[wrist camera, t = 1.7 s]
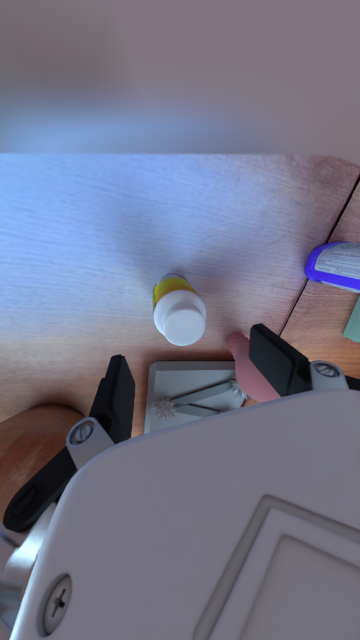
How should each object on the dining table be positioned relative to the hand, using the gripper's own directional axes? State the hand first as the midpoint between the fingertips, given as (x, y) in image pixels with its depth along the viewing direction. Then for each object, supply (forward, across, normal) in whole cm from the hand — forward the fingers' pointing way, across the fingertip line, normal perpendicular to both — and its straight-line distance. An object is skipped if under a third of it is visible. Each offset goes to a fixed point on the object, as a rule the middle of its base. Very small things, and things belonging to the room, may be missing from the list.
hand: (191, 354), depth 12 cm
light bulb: (+14, -10, +11) cm, 20 cm away
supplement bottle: (+14, 0, 0) cm, 14 cm away
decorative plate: (+14, -1, +28) cm, 31 cm away
